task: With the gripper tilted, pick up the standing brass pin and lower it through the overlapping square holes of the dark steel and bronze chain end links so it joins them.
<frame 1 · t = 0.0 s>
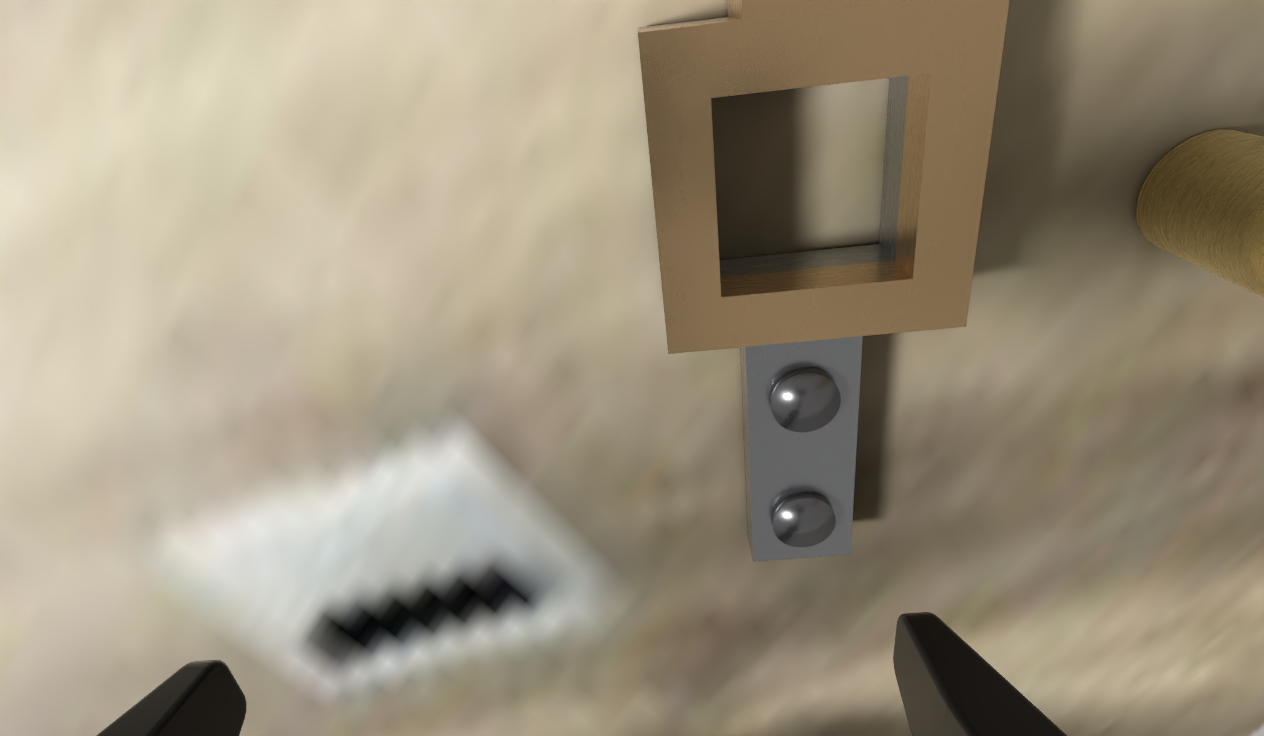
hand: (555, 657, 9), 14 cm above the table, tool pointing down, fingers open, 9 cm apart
brass pin: (1200, 192, 20), on the table
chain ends: (794, 168, 20), on the table
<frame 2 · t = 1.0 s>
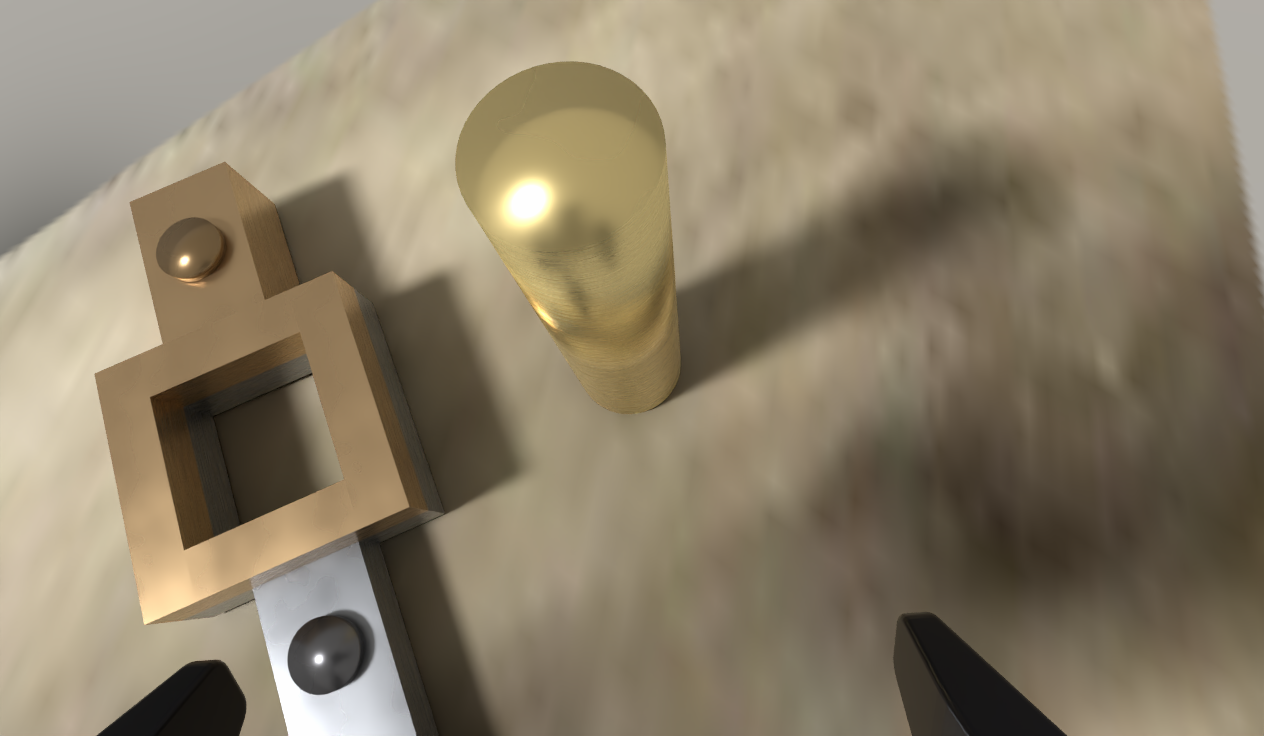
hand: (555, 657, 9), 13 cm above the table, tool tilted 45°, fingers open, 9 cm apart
brass pin: (629, 363, 24), on the table
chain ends: (297, 451, 24), on the table
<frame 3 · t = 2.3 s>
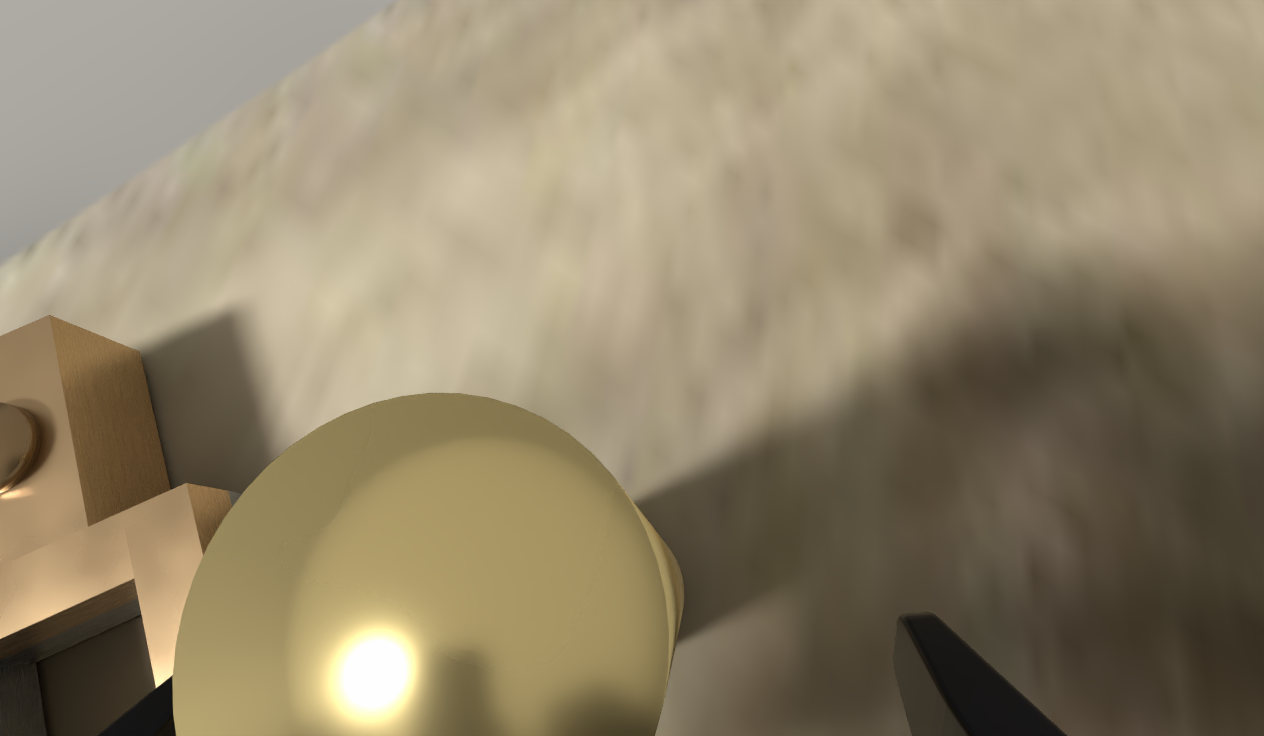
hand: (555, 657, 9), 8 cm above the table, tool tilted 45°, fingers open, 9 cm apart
brass pin: (613, 592, 17), on the table
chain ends: (148, 719, 17), on the table
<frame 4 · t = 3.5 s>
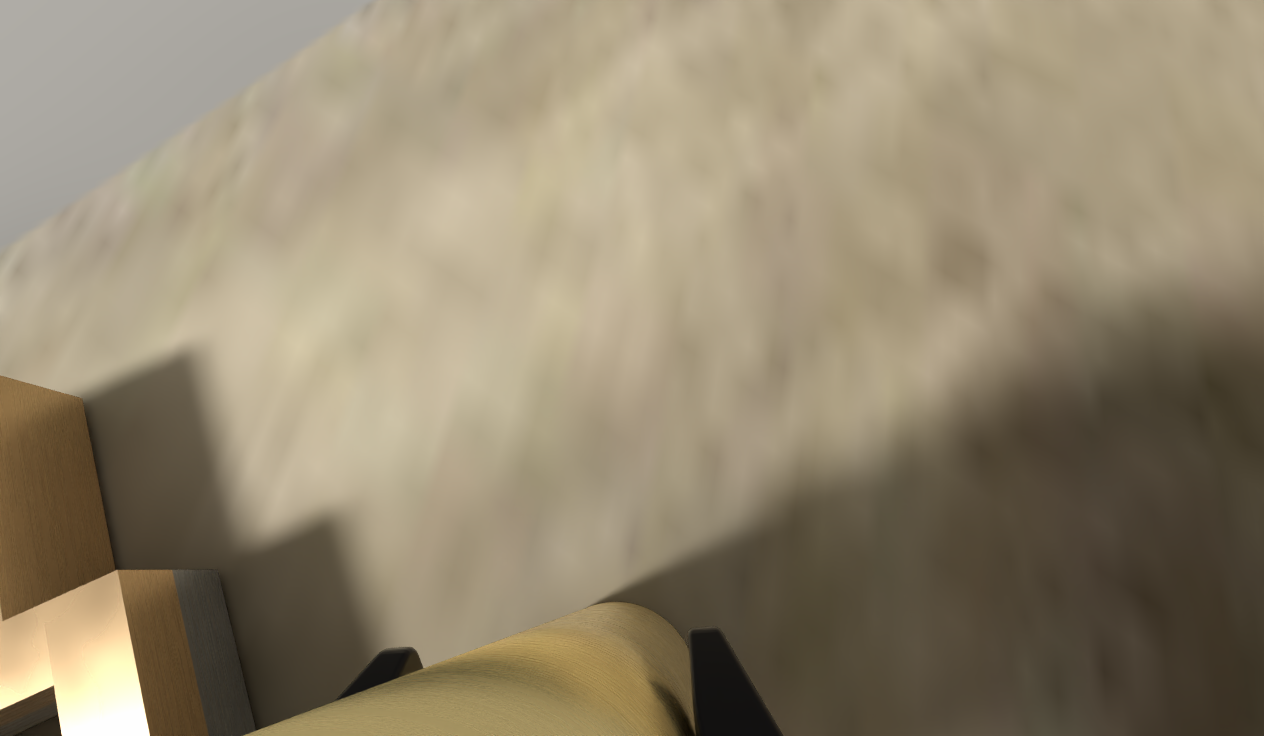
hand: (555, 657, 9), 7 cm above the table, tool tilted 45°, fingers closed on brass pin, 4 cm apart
brass pin: (616, 688, 15), on the table, touching gripper
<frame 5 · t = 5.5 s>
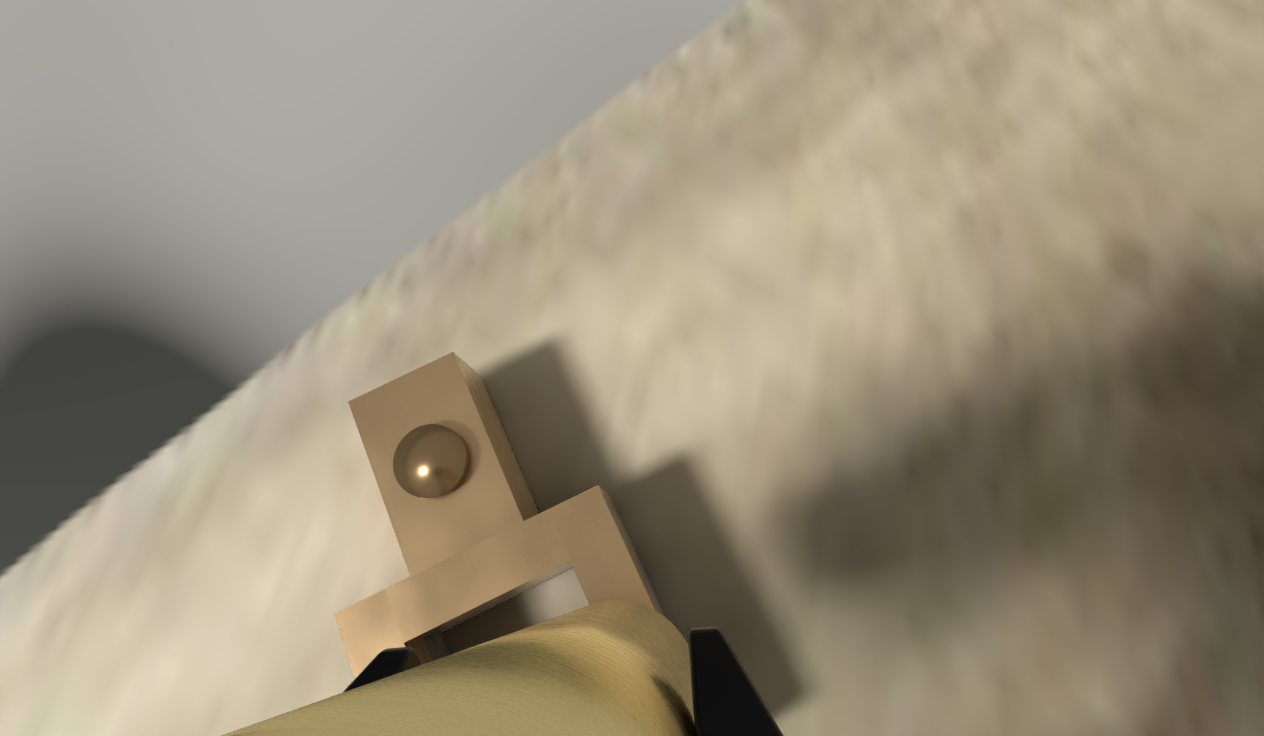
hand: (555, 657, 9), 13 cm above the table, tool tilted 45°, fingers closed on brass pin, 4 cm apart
brass pin: (616, 686, 15), point 7 cm above the table, touching gripper
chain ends: (545, 675, 22), on the table
when the fingers open (8 cm above the table, at t = 7.3 s): brass pin drops 1 cm, resting in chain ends.
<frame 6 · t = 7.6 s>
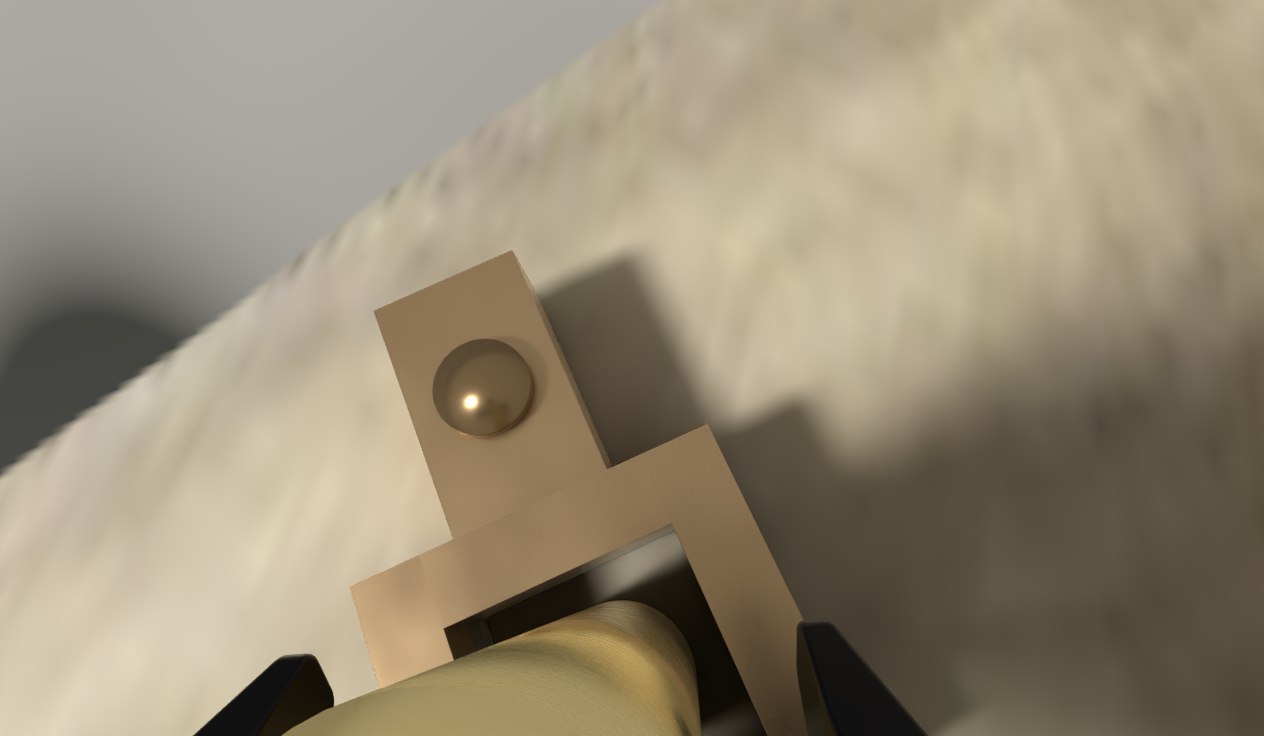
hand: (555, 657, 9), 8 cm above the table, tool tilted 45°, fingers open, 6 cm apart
brass pin: (621, 679, 16), resting in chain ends
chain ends: (622, 677, 16), on the table
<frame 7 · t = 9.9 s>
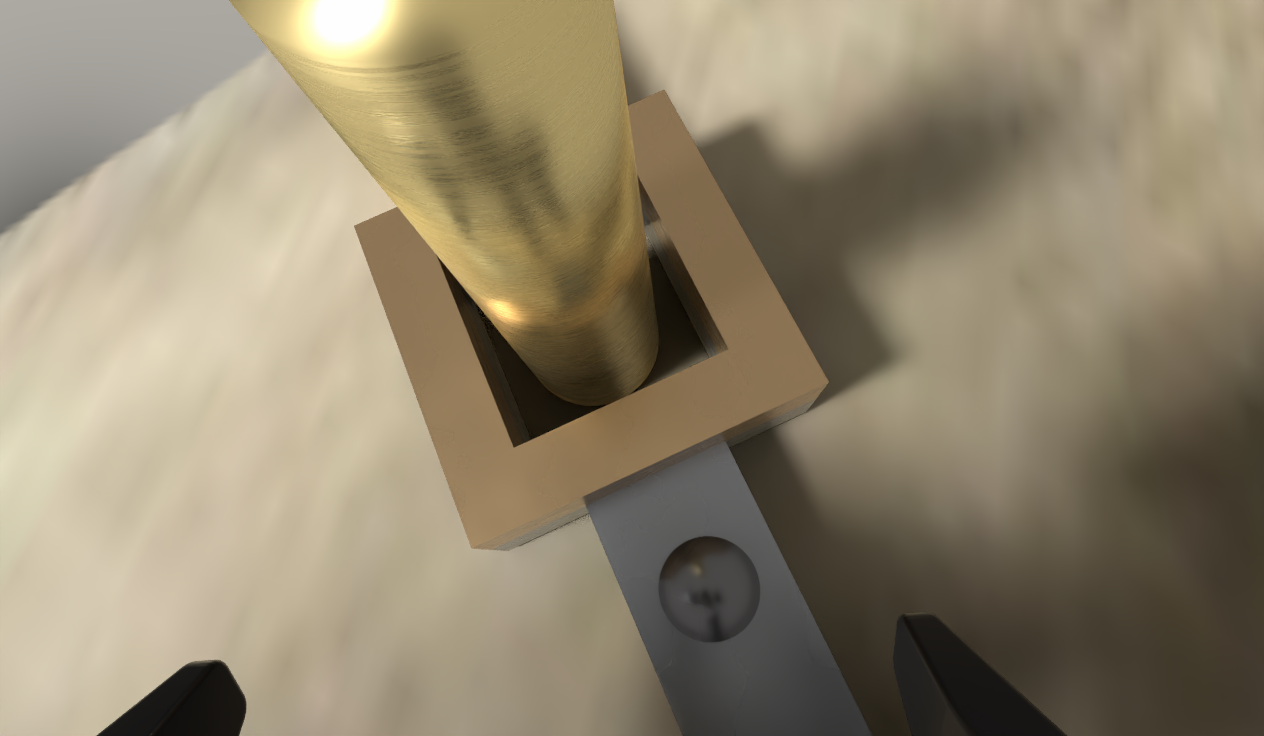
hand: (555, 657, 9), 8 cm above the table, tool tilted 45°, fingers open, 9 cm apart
brass pin: (593, 341, 19), resting in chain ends
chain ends: (593, 339, 19), on the table
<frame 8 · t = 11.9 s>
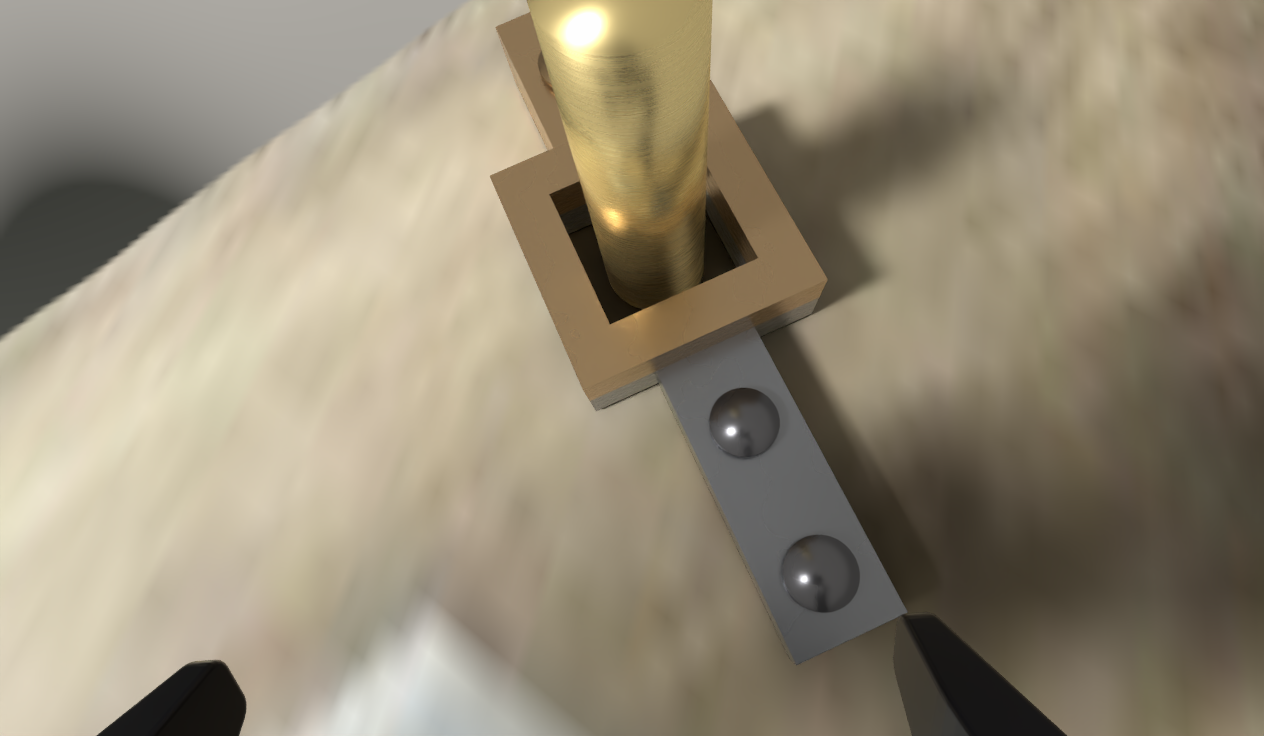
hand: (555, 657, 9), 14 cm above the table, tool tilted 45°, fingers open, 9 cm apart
brass pin: (655, 265, 25), resting in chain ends
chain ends: (655, 264, 25), on the table
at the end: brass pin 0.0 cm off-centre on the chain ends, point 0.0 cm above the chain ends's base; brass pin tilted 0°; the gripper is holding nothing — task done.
